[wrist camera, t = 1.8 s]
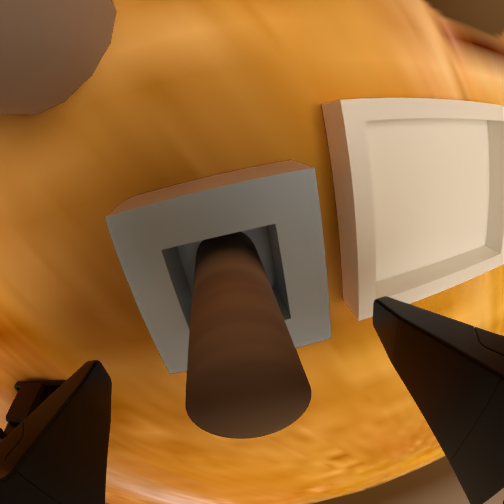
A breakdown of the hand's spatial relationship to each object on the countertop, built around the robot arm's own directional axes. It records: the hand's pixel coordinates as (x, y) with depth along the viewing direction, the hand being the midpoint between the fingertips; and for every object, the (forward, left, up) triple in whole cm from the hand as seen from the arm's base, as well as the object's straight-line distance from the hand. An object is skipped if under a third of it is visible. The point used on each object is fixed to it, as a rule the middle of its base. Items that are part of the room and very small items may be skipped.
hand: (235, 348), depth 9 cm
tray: (+1, -13, -7) cm, 15 cm away
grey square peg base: (0, 0, -7) cm, 7 cm away
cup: (+14, +7, -7) cm, 17 cm away
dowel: (0, 0, -7) cm, 7 cm away
